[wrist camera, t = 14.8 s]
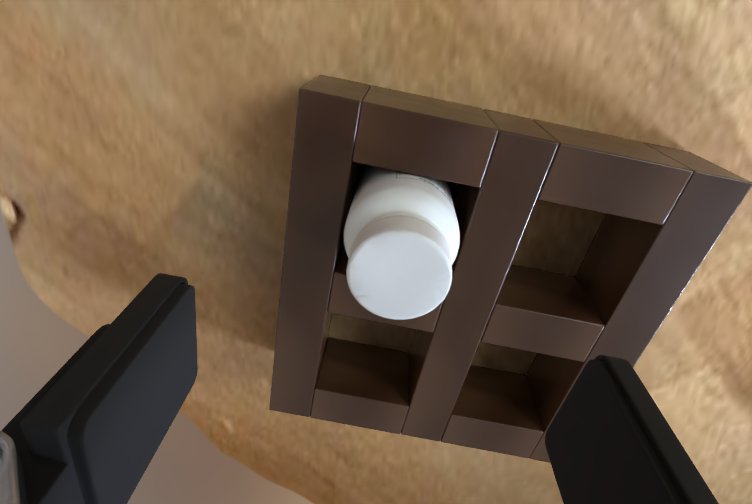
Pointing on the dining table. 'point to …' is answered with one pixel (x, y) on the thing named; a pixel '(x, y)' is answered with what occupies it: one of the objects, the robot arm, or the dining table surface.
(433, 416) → the grid rack
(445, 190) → the pill bottle
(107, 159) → the dining table surface
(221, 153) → the dining table surface
